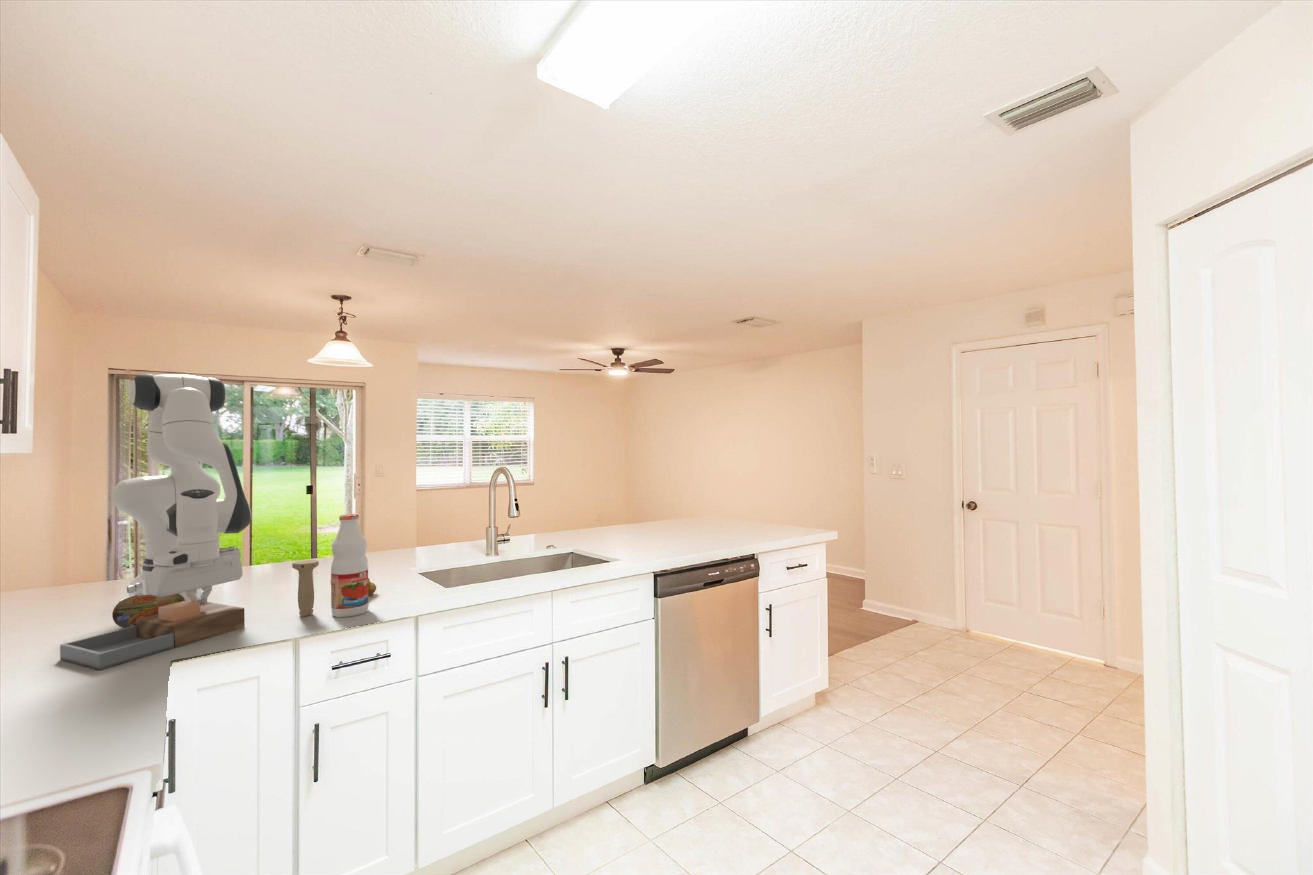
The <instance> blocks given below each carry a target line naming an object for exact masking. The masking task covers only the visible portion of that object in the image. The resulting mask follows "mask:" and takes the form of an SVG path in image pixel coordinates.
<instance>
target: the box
mask: <svg viewBox="0 0 1313 875" xmlns="http://www.w3.org/2000/svg"><path fill="white" fill-rule="evenodd" d="M174 648H175V647H174V633H170V634H167V635H163V636H159V637H156V638H152V639H149V640H146V639H141V638H137V626H131V627H128V628H121V629H117V630H112V631H109V632H104V633H101V634H97V635H93V636H89V637H86V638H81V639H77V640H73V641H70V642H67V643H66V642H65V643H61V644H59V653H60V654H59V655H60V656H59V657H60V659H59V660H60V661H62V662H67V663H71V664H74V665H77V666H82V667H84V668H85V667H86V668H89V669H92V670H97V671H103V670H106V669H109V668H112V667H115V666H119V665H122V664H125V663H128V662H132V661H135V660H139V659H142V658H145V657H148V656H151V655H156V654H159V653H162V652H166V651H168V650H172V649H174Z"/></svg>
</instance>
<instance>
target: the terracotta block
mask: <svg viewBox="0 0 1313 875" xmlns="http://www.w3.org/2000/svg"><path fill="white" fill-rule="evenodd" d="M158 614H159V619H162V620H167V621H172V622H174V621H178V620H181V619H185V618H189V617H193V616H197V615H200V603H197V602H191V601H182V602H177V603H173V604H169V605H165V606H161V607H158Z"/></svg>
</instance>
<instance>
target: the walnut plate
mask: <svg viewBox="0 0 1313 875" xmlns="http://www.w3.org/2000/svg"><path fill="white" fill-rule="evenodd" d="M136 626H137V638H141V639H146V640H149V639H152V638H156V637H159V636H163V635H167V634H170V633H174V648H179V647H183V646H185V645H186V646H187V645H188V644H191V643H196V642H199V641H202V640H205V639H209V638H212V637H216V636H218V635H222V634H225V633H228V632H231V631H234V629H236V630H238V628H239V629H242V628H244V627H243V626H245V607H242V606H241V607H240V606H235V605H229V604H221V603H215V602H210V601H207V604H204V605H200V615H197V616H193V617H189V618H185V619H181V620H178V621H174V622H172V621H167V620H162V619H159V614H156V615H152V616H147V617H143V618H139V619H136ZM241 627H242V628H241Z"/></svg>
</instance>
